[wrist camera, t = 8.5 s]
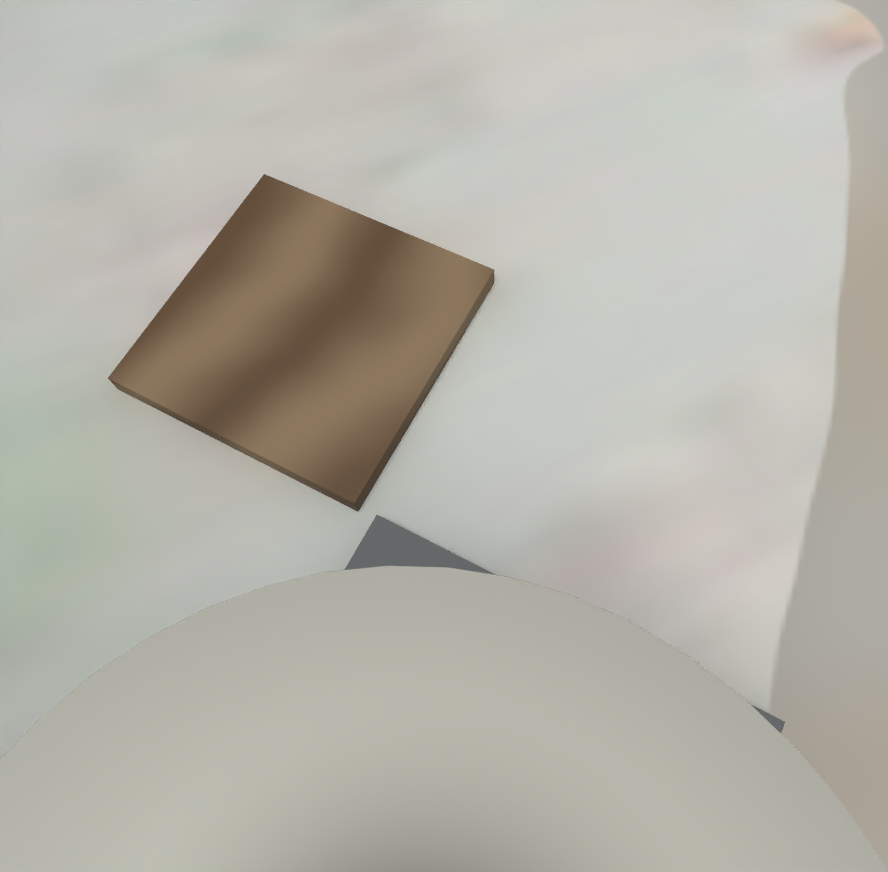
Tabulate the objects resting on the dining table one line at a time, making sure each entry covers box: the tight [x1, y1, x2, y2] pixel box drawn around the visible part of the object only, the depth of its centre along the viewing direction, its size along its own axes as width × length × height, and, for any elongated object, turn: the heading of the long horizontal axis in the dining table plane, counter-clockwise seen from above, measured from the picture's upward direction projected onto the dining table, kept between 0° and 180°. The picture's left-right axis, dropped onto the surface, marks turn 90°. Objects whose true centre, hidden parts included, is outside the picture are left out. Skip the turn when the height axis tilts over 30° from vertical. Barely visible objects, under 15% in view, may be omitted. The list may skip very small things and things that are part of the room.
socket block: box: [345, 515, 785, 733], centre depth 25 cm, size 16×16×4 cm
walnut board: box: [108, 174, 494, 511], centre depth 35 cm, size 12×12×1 cm
